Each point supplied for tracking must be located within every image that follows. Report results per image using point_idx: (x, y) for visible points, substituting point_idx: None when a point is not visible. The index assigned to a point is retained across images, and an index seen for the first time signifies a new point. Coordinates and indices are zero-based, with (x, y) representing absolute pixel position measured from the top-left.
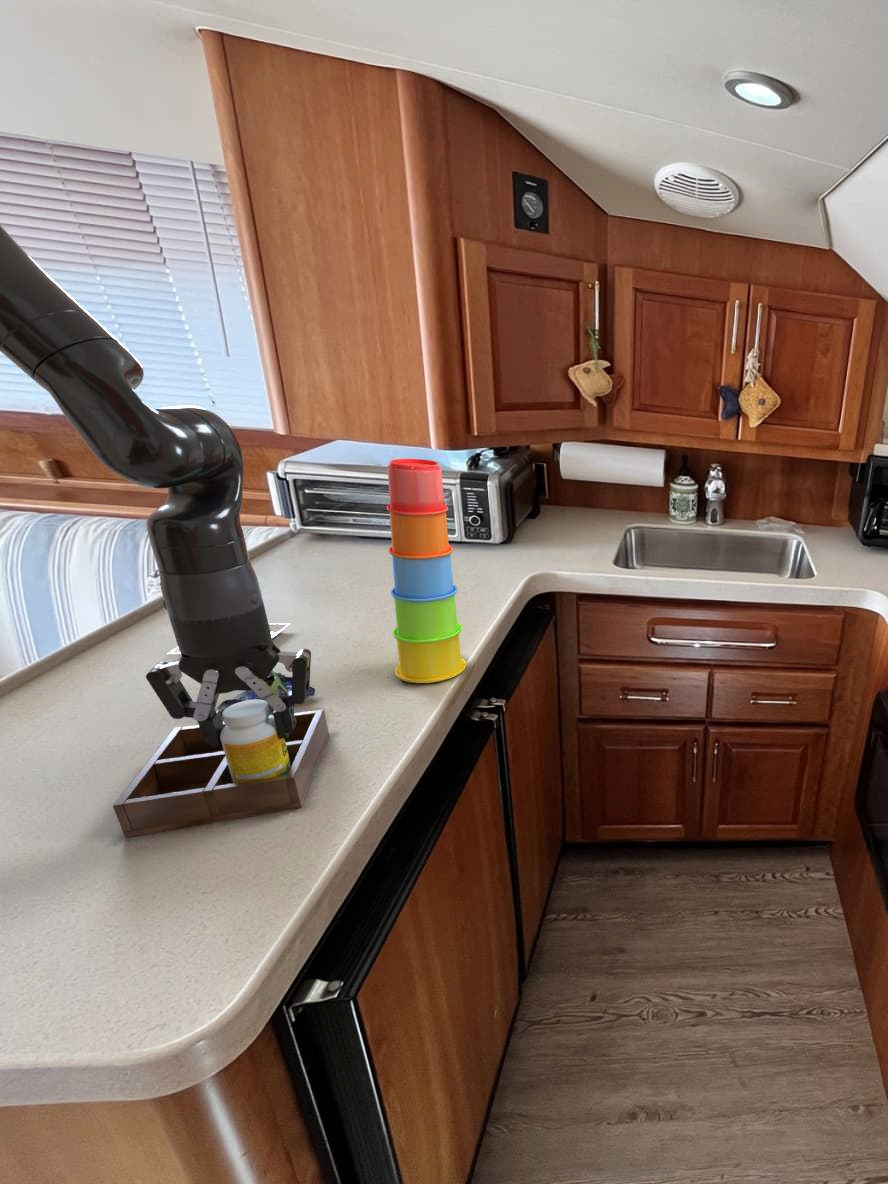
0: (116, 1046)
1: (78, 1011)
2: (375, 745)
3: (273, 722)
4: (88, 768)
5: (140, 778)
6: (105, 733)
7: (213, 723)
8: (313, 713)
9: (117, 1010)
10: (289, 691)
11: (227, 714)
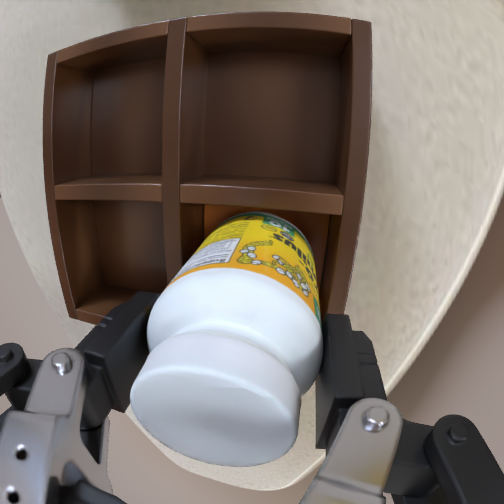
0: (230, 483)
1: (195, 462)
2: (449, 140)
3: (306, 381)
4: (14, 88)
5: (59, 249)
6: (18, 9)
7: (129, 403)
8: (346, 33)
9: (219, 470)
10: (402, 465)
11: (161, 437)
